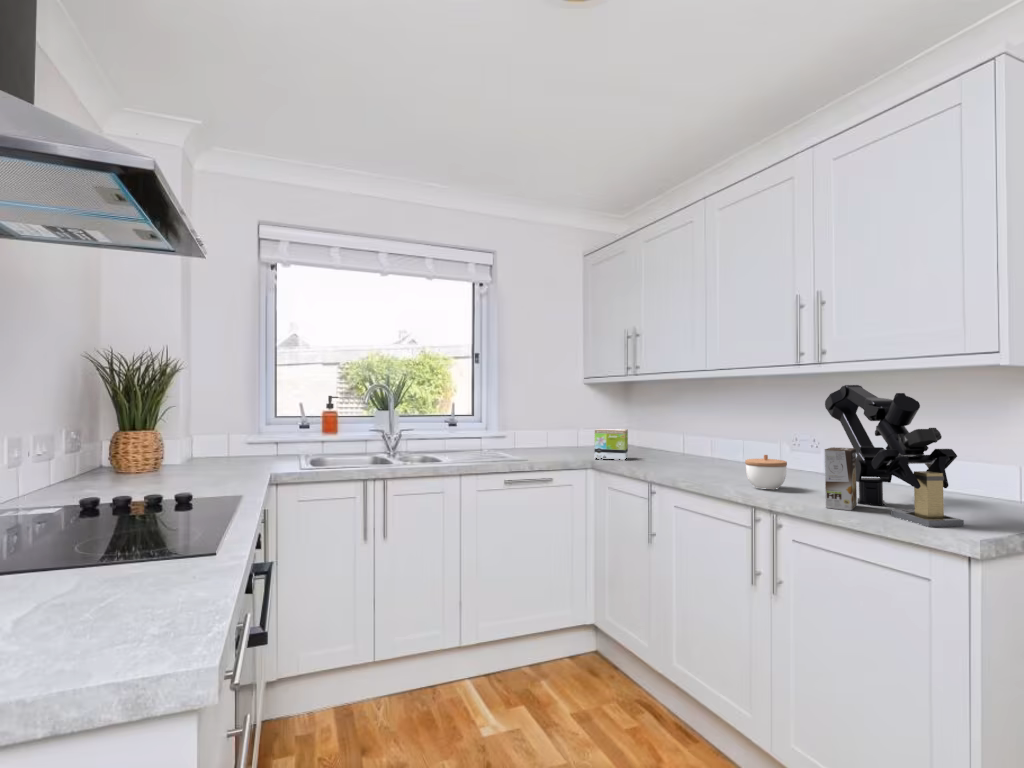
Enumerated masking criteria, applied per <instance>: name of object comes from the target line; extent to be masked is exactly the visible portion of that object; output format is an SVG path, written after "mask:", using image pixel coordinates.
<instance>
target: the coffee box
mask: <svg viewBox="0 0 1024 768" xmlns="http://www.w3.org/2000/svg"><path fill="white" fill-rule="evenodd" d="M856 457H857V454H856V448H853V447H835V446H834V447H828V448H825V449H824V470H825V471H824V474H825V475H824V476H825V477H824V479H825V480H824V481H825V482H824V483H825V488H824V489H825V490H824V491H825V494H824V495H825V508H826V509H835V510H842V511H852V510H853V509H855V508H856V507H857V504H858V497H857V494H858V493H857V482H856ZM855 506H856V507H855Z"/></svg>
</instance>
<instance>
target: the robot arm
mask: <svg viewBox="0 0 1024 768" xmlns="http://www.w3.org/2000/svg"><path fill="white" fill-rule="evenodd" d="M824 407H825V409H826V411H827V412H828V414H829V415H830V417H831V418H834V419H835V420H837V421H839V422H840V424H841V426H842V428H843V430H844V431H845V434H846V436H847V438H848V440H849V443H850V445H851V446H852V448H856V483H857V482H858V496H859V497H857V504H860V505H861V504H862V505H875V506H886V503H885V502H886V501H885V500H884V493H883V492H884V490H883V489H884V488H883V486H884V483H891V482H892V477H893V476H894V477H896V478H898V479H900V480H902V481H903V482H905V483H907V484H909V485H910V486H912V487H913V488H914V487H915V488H917V489H919V488H920V487H921V485H920V483H919V481H918V480H917V478H916V477H915V475H914V471H913V470H912V469H911V467H910V465H911V464H913V465H915V464H916V465H918V464H919V465H921V464H922V465H923V464H924V465H925V466H926V467H927V469H926V471H931V472H938V473H943V476H944V481H943V489H947V488H948V487H949V482H948V476H947V473H946V470H947V468H948V467H949V466H950V465H951V464H952V463H953V462H955V461H954V460H955V459H957V457H958V455H957V453H956V452H955V451H954V450H953V448H934V449H933V450H932V451H931V452H930V454H925V453H924V452H927V451H928V450H929V445H932V444H934V443H937V442H938V441H940V440H941V439H942V434H941V431H939V429H937V427H929V428H916V429H914V430H911V431H909V430H908V429H907V427H906V426H909V425H911V423H912V421H913V420H914V418H915V416H916V415H917V412H918V411H919V409H920V408H921V405H920V402H919V401H918V400H916V399H915V398H914V397H912V396H911V397H910V396H908V395H906V393H905V392H896V393H895V394H894V396H893V399H891V398H883V397H878V396H877V395H874V394H873V393H871V392H870V391H868V390H866V389H864V388H863V386H862V385H859V384H845V385H842V386H841V387H840V388H839V389H837V390H836V391H833V392H830V393H829V395H828V396H827V398H826V399H825V401H824ZM859 408H861V409H862V410H863V416H865V418H867V420H868V421H870V422H878V424H877V425H876V426H875V431H874V436H876V437H879V436H880V437H881V438H882V439H883V440H884V442H885V443H886V444H887V445H886V447H885V448H884V447H883V446H882V447H879V446H878V447H875V446H874V444H873V442H872V441H871V438H870V437H869V435H868V433H867V431H866V429H865V428H864V426H863V423H862V422H861V420H860V418H859V415H858V414H857V412H858V409H859Z"/></svg>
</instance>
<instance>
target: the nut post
mask: <svg viewBox="0 0 1024 768" xmlns="http://www.w3.org/2000/svg"><path fill="white" fill-rule="evenodd" d="M913 474H914V475H915V477H916V478H917V480H918V481H919V483H920V485H921V487H920V488H919V489H917V488H915V487H913V490H914V491H913V492H914V493H913V494H914V495H913V496H914V510H915V516H917V517H921V518H924V519H944V515H945V514H944V513H945V508H944V507H945V506H944V505H945V504H944V503H945V502H944V487H943V481H944V476H943V473H938V472H931V471H927V470H922V471H921V470H919V471H917V470H915V471H913Z"/></svg>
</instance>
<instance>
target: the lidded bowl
mask: <svg viewBox="0 0 1024 768" xmlns="http://www.w3.org/2000/svg"><path fill="white" fill-rule="evenodd" d="M744 463H745V471H746V472H745V474H746V477H747V479H748V481H749V483H750V484H751V485H752V486H753V487H757V488H766V489H776V488H778V489H779V488H780V487H781V486H782V485H783V484H784V482H785V481H786V477H787V469H788V468H787V467H788V462H787V461H786V460H782V459H775V458H769V456H768V454H763V458H747V459H745V461H744Z"/></svg>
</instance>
